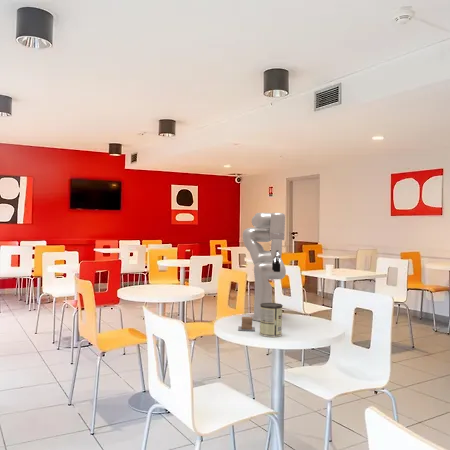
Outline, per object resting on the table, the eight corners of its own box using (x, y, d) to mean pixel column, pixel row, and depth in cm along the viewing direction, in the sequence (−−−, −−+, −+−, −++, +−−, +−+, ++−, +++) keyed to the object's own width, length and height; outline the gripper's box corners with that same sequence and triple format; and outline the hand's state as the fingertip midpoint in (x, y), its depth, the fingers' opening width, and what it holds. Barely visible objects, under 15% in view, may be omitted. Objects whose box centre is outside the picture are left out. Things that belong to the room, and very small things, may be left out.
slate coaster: (238, 327, 222) (238, 326, 222) (254, 328, 222) (254, 326, 222) (238, 330, 214) (238, 329, 214) (255, 331, 214) (255, 330, 214)
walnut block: (241, 326, 220) (242, 316, 220) (251, 327, 220) (252, 317, 220) (241, 329, 215) (241, 318, 216) (251, 329, 215) (252, 319, 215)
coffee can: (261, 331, 214) (262, 302, 214) (282, 333, 212) (283, 303, 212) (257, 336, 204) (258, 305, 204) (280, 338, 202) (281, 306, 202)
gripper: (268, 236, 235) (267, 269, 235) (270, 236, 218) (269, 272, 217) (282, 237, 235) (281, 270, 234) (286, 237, 217) (285, 272, 217)
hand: (276, 271), depth 226 cm, fingers open, 9 cm apart
